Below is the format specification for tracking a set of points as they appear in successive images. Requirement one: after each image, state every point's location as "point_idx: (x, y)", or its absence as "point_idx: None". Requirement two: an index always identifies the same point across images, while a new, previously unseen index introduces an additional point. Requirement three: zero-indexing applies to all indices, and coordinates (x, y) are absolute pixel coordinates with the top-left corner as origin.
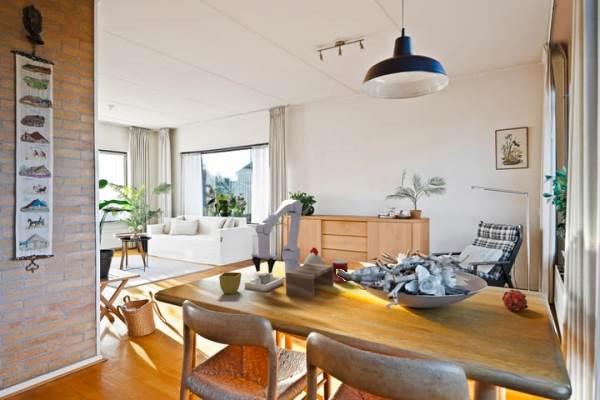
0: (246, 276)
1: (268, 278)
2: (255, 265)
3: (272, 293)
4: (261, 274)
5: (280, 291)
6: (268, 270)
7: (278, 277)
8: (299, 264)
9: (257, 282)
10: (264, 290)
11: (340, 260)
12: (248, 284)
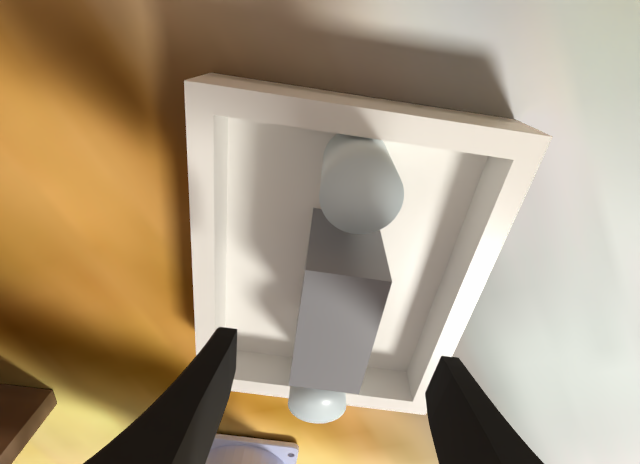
0: (596, 430)
1: (297, 321)
2: (514, 448)
3: (98, 27)
4: (369, 327)
5: (76, 133)
6: (219, 357)
7: (247, 390)
8: None
9: (349, 144)
10: (229, 76)
11: None
12: (479, 122)
